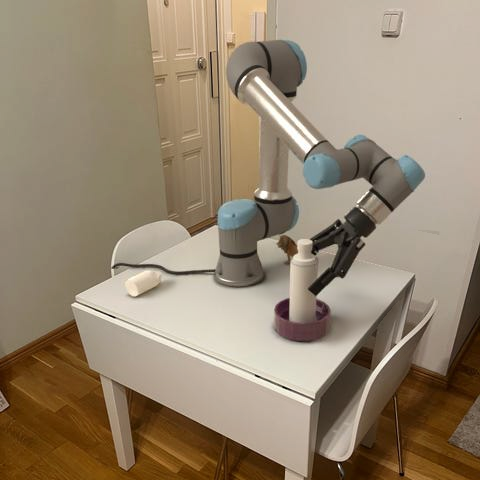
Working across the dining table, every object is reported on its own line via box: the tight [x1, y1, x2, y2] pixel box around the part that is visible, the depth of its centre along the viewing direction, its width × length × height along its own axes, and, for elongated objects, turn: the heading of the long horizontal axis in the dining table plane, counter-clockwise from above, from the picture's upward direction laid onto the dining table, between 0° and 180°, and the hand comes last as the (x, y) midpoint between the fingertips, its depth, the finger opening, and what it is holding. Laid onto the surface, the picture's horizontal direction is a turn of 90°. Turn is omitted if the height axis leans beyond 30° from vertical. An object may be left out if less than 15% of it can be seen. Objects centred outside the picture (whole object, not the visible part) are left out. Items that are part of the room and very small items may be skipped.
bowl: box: [273, 297, 332, 342], centre depth 126 cm, size 14×14×6 cm
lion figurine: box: [276, 234, 298, 265], centre depth 159 cm, size 15×5×9 cm, turn 50°
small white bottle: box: [124, 269, 163, 297], centre depth 149 cm, size 6×12×6 cm, turn 140°
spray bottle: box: [289, 238, 319, 323], centre depth 121 cm, size 7×7×25 cm
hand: (303, 280), depth 121 cm, fingers open, 13 cm apart
